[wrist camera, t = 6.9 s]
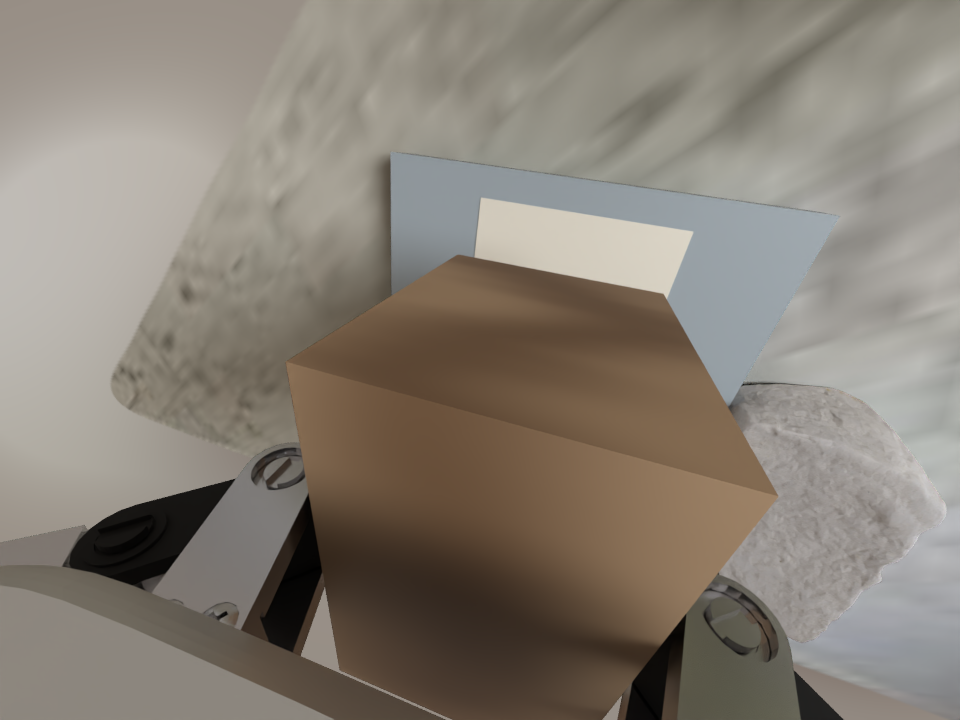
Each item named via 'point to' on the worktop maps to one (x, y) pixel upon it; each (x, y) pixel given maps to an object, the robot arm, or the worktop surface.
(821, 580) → the rough stone chunk
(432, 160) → the board
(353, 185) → the worktop surface
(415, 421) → the walnut block
